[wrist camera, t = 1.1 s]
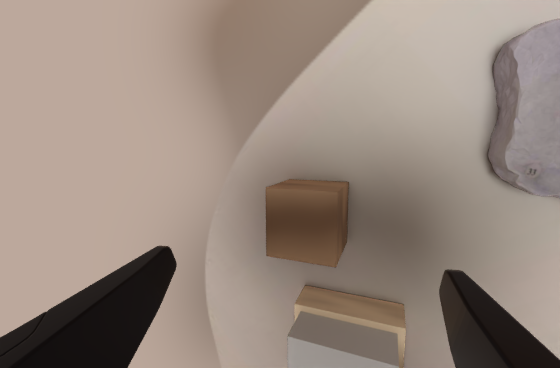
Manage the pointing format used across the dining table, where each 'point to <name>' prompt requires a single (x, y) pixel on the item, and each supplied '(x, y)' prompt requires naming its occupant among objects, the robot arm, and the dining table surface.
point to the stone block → (529, 111)
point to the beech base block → (355, 311)
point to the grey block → (339, 344)
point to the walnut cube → (307, 221)
